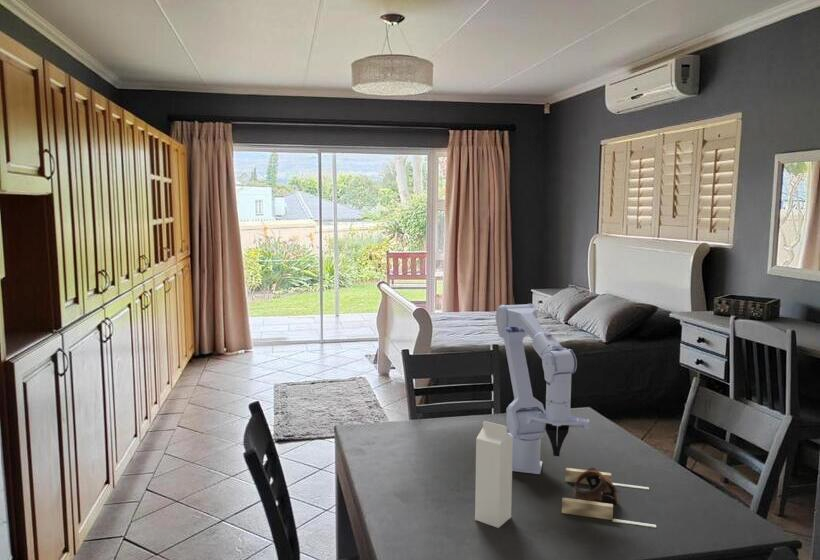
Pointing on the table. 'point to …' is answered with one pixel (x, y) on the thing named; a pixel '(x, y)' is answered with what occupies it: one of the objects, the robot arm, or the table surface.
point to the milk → (493, 474)
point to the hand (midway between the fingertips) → (556, 454)
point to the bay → (632, 521)
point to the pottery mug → (594, 486)
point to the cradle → (582, 505)
